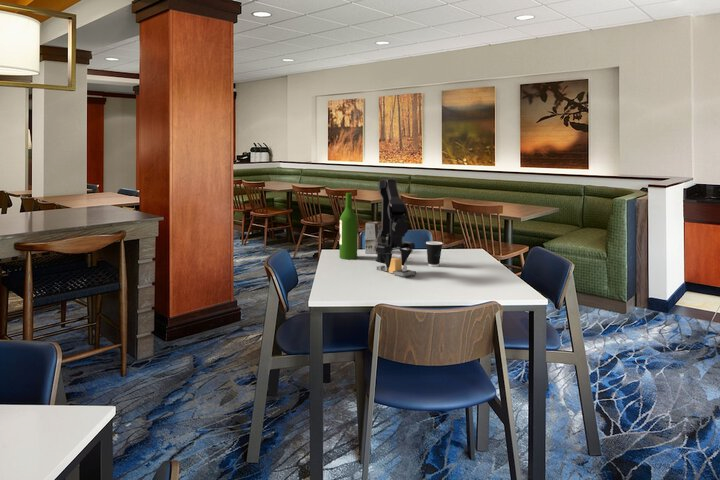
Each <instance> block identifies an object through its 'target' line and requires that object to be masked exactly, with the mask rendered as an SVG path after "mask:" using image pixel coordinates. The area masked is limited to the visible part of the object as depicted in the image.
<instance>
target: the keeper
mask: <svg viewBox="0 0 720 480" xmlns="http://www.w3.org/2000/svg"><path fill="white" fill-rule="evenodd" d="M407 270H408V268H407V265H406V264H404V265H402V272H403V273H406V272H407ZM394 276H396V277H399V278H403V279H405V278H411V277H414V276H415V274H413V275H408V276H401V275H396V274H394Z"/></svg>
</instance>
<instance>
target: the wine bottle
mask: <svg viewBox="0 0 720 480" xmlns="http://www.w3.org/2000/svg"><path fill="white" fill-rule="evenodd" d="M358 224H359V223H358V217H357V215H356V213H355V211H354V210H353V193H352V192H346V193H345V208H344V210H343V212H342V214H341V215H340V217H339V256H338V257H339V259H341V260H355V259H357V258H358V230H359V229H358Z"/></svg>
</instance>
